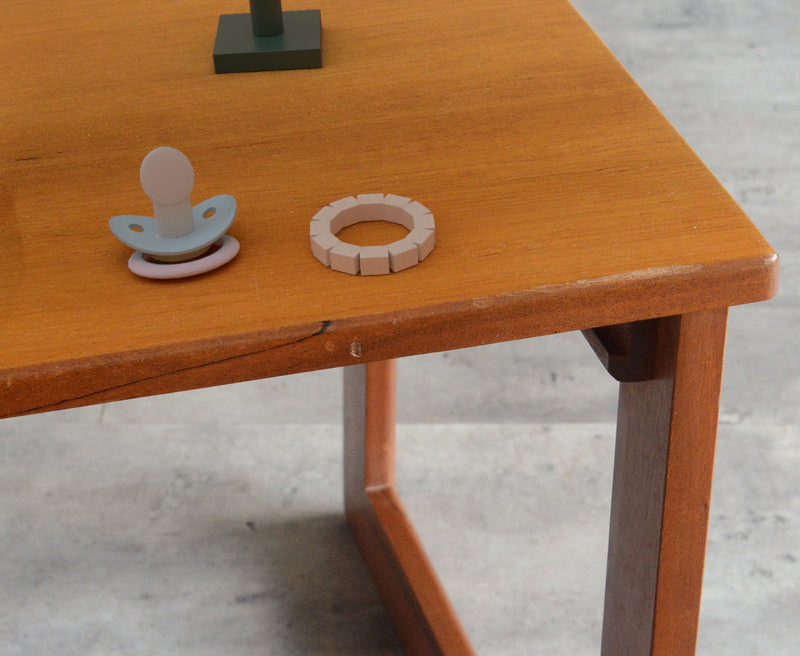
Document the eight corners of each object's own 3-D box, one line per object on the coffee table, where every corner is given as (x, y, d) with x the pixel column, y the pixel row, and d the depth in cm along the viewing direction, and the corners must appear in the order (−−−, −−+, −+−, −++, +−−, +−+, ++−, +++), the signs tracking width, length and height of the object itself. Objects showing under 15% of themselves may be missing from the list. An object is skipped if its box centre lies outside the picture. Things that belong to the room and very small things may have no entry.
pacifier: (256, 270, 68) (232, 217, 72) (244, 172, 64) (219, 123, 68) (128, 297, 66) (111, 242, 70) (107, 199, 62) (90, 147, 66)
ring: (310, 278, 66) (309, 260, 66) (311, 214, 72) (310, 196, 71) (439, 271, 67) (438, 253, 66) (430, 207, 72) (429, 190, 71)
